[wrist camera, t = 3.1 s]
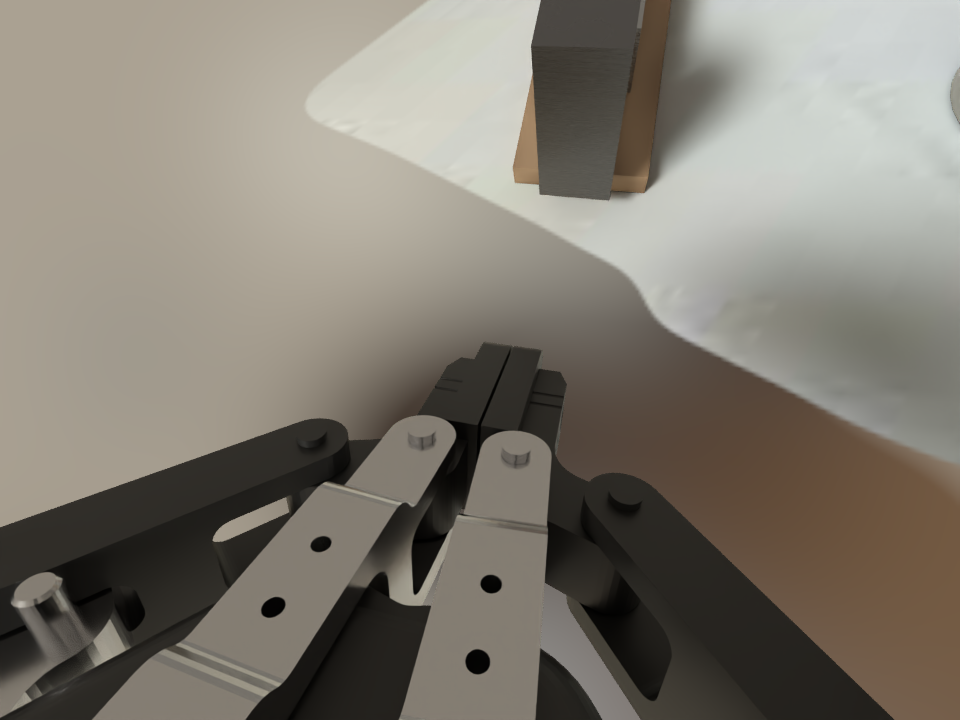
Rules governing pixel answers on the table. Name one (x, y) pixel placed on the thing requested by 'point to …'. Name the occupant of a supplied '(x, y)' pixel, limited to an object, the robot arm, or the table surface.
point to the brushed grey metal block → (581, 92)
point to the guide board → (636, 113)
